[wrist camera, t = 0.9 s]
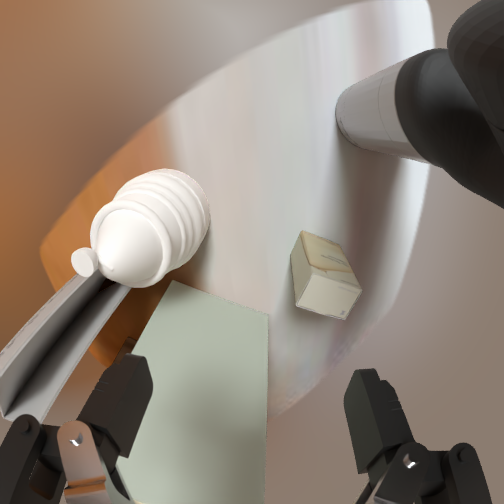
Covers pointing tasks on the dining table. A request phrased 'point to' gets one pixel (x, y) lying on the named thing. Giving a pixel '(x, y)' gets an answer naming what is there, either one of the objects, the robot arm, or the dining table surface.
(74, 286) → the folded grey card
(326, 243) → the skincare box
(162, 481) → the rack
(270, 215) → the dining table surface
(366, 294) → the dining table surface
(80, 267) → the honey pot
